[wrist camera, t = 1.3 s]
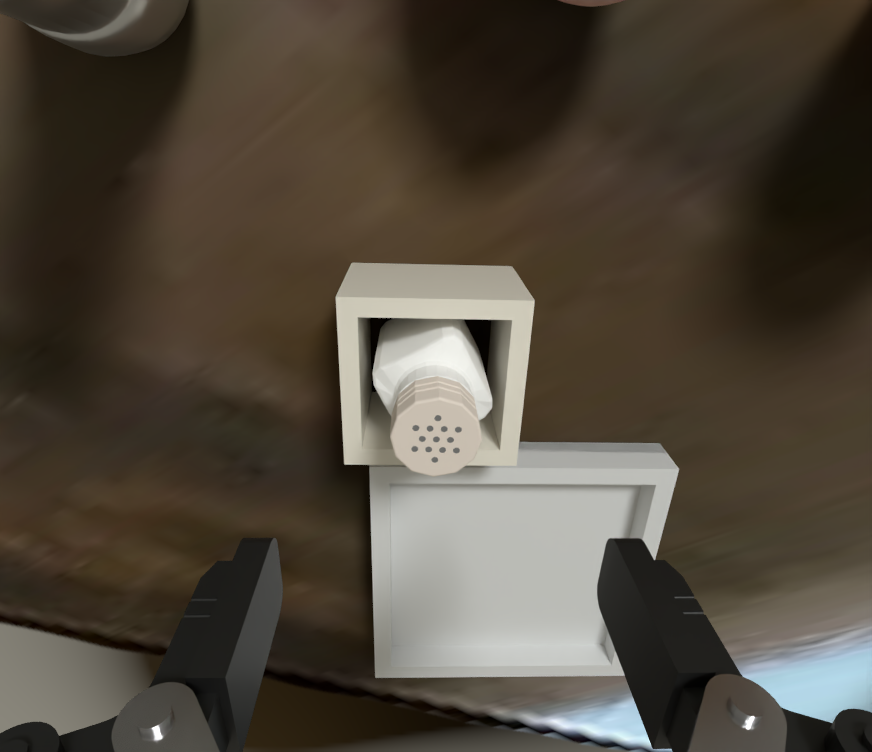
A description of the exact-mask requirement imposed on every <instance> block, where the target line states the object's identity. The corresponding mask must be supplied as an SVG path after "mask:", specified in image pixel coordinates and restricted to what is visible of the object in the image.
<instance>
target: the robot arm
mask: <svg viewBox="0 0 872 752" xmlns="http://www.w3.org/2000/svg"><path fill="white" fill-rule="evenodd" d="M282 594H283V586H282V577H281V569H280V560H279V552H278V544H277V540H276V538H243V539H242V540H241V542H240V544H239V546H238V549H237V551H236V554H235V556H234V559H233V561H217V562H216V563H215V564H214V565H213V566H212V567H211V568H210V569H209V570H208V571H207V572H206V573H205V574H204V575H203V576H202V577H201V579H200V581H199V583H198V585H197V587H196V589H195V591H194V594H193V596H192V600H191V602H189V604H188V607H187V609H186V611H185V613H184V618H182V619H181V622H180V624H179V626H178V628H177V630H176V632H175V635H174V637H173V639H172V641H171V643H170V645H169V647H168V650H167V652H166V654H165V656H164V658H163V660H162V663H161V665H160V667H159V669H158V671H157V673H156V675H155V678H154V680H153V682H152V683H151V685H150V687H149V688H148V689H146V690H144V691H142V692H141V693H139V694H138V695H137V696H135V697H134V698H133V699H131V700H130V701H129V702H128V703H127V704H126V706H125V707H124V708H123V709H122V710H121V712H120V713H119V715H118V716H115V717H114V718H112V719H109V720H107V721H104V722H101V723H99V724H96V725H92V726H89V727H86V728H83V729H80V730H76V731H73V732H70V733H67V734H64V735H61V736H59V735H58V734H57V732H56V730H55V729H54V728H53V727H52V726H51V725H49V724H47V723H43V722H30V723H24V724H21V725H17V726H15V727H12V728H10V729H8V730H6V731H4V732H2V733H0V752H242V751H243V748H244V744H245V740H246V736H247V733H248V729H249V725H250V722H251V718H252V714H253V711H254V707H255V703H256V699H257V696H258V692H259V688H260V685H261V681H262V677H263V674H264V670H265V666H266V663H267V659H268V655H269V652H270V648H271V644H272V640H273V637H274V633H275V629H276V626H277V622H278V618H279V615H280V610H281V604H282ZM597 598H598V604H599V609H600V612H601V614H602V617H603V620H604V622H605V625H606V628H607V630H608V633H609V635H610V638H611V641H612V643H613V646H614V648H615V651H616V654H617V656H618V659H619V662H620V664H621V667H622V669H623V672H624V675H625V677H626V680H627V682H628V685H629V688H630V690H631V693H632V696H633V698H634V701H635V703H636V706H637V709H638V711H639V714H640V716H641V719H642V722H643V724H644V727H645V730H646V732H647V735H648V737H649V740H650V743H651V745H652V748H653V749H672V751H673V752H872V713H871V712H868V711H864V710H860V709H847V710H843V711H842V712H840V713H839V714H838V715H837V716H836V718H835V720H834V721H833V723H830V722H826V721H823V720H819V719H816V718H812V717H809V716H805V715H802V714H798V713H795V712H791V711H788V710H786V709H783V708H781V707H780V706H779V704H778V703H777V702H776V700H775V699H774V698H773V697H772V696H771V695H770V694H769V693H768V692H767V691H766V690H765V689H763V688H762V687H761V686H759V685H758V684H756V683H754V682H753V681H751V680H749V679H746V678H744V677H742V675H741V674H740V672H739V671H738V669H737V667H736V665H735V664H734V662H733V660H732V659H731V657H730V655H729V654H728V652H727V650H726V649H725V647H724V645H723V644H722V642H721V640H720V638H719V637H718V635H717V633H716V632H715V630H714V628H713V627H712V625H711V623H710V622H709V620H708V618H707V617H706V615H704V614H703V610H702V608H701V606H700V605H699V603H698V601H697V600H696V599H694V595H693V593H692V591H691V589H690V588H689V586H688V584H687V583H686V581H685V579H684V578H683V576H682V575H681V574H679V573H678V572H677V571H676V570H675V569H674V568H673V567H672V566H671V565H669V564H668V563H667V562H666V561H665V560H654V559H653V557H652V555H651V553H650V551H649V550H648V548H647V546H646V544H645V543H644V541H643V540H642V539H640V538H609V539H608V540H607V543H606V546H605V551H604V555H603V560H602V565H601V569H600V574H599V579H598V584H597Z"/></svg>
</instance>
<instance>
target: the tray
mask: <svg viewBox="0 0 872 752" xmlns="http://www.w3.org/2000/svg"><path fill="white" fill-rule="evenodd" d="M678 471H679V468H678V467H677V466H676V464H675V463H674V462H673V460H672V459H671V458H670V456H669V455H668V454H667V452H666V451H665V450H664V448H663V447H662V446H661V445H660V443H579V442H519V447H518V456H517V465H516V466H475V465H466V466H464V467H463V468H462V469H460V470H459V471H458V472H456V473H452V474H446V475H441V476H435V477H432V476H428V475H425V474H421V473H417V472H413V471H411V470H410V469H409V468H408V467H407V466H405V465H370V466H369V473H370V509H371V545H372V581H373V617H374V652H375V678H417V677H529V676H624V672H623V669H622V667H621V664H620V662H619V659H618V656H617V654H616V651H615V648H614V646H613V643H612V641H611V638H610V635H609V633H608V630H607V628H606V625H605V622H604V620H603V617H602V614H601V612H600V609H599V604H598V598H597V584H598V579H599V574H600V569H601V565H602V560H603V555H604V551H605V546H606V543H607V540H608V539H609V538H640V539H642V540H643V541H644V543H645V544H646V546H647V548H648V550H649V551H650V553H651V555H652V557H653V559H654V560H655V558H656V554H657V551H658V547H659V543H660V539H661V535H662V532H663V528H664V524H665V520H666V517H667V513H668V509H669V505H670V501H671V498H672V494H673V490H674V486H675V483H676V479H677V475H678Z"/></svg>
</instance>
